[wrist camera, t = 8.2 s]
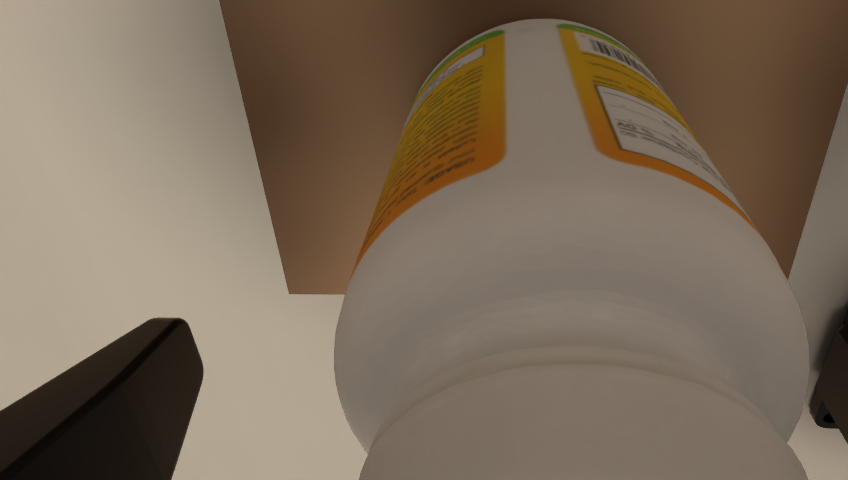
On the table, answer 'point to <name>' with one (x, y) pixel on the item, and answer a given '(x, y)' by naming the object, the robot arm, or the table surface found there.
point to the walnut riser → (493, 6)
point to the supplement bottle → (564, 284)
